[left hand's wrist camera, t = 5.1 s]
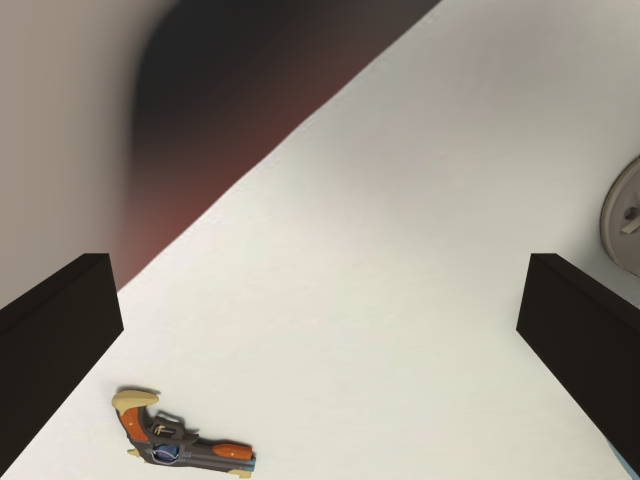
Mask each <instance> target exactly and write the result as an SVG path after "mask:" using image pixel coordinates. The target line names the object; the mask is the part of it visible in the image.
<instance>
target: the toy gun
mask: <svg viewBox="0 0 640 480" xmlns="http://www.w3.org/2000/svg"><path fill="white" fill-rule="evenodd" d="M158 400H159V398H158V396H156V395H154V394H150V393H146V392H142V391H135V390H126V391H121V392H119V393H117V394H116V395H115V396H114V397H113V398H112V406H113V407H114V408H115V410H116V413H117V416H118V418H119V421H120V423H121V424H122V426H123V427H124V429H125V431H126V433H127V438H128V439H129V441H130V442H131V444H132V445H133V446H134V447H135V449H133V450H128V451H127V452H128V453H129V454H131V455H135V456H136V457H138V458H139V456H141V457H142V458H143V459H144V460H145V462H144V463H150V464H155V465H163V466H171V467H196V468H202V469H208V470H215V471H221V472H226V473H230V474H237V475H240V477H239V478H250V477H251V471H252V472H253V471H254V467H255V461H256V457H254V456H252V448H249V447H244V446H238V445H232V444H219V445H214V446H207V445H201V444H198V443H195V442H196V441H197V440H198V436H199V434H193V435H184V434H183V431H184V427H183V425H182V424H181V423H179V422H173V421H169V420H166V419H164V418H162V417H160V416H157V417H156V418H155V420H154V422H153V423H152V424H151V425H149V424H148V423H147V421H146V418H145V415H144V408H145V406H147V405H151V404H154V403H156V402H157V401H158ZM157 424H159V425H160V426H158V427H157V428H156V430H155V429H154V426H155V425H157ZM165 427H167V428H170V429H175V430H176V431H175V432H174V433H169V432H162V431H160V429H161V428H165ZM158 428H159V431H158V430H157V429H158ZM156 443H160V444H161V445H159V446H157V447H156V446H155V445H154V444H156ZM179 445H180V447H179ZM154 447H155V448H154ZM153 452H155V453H156V454H154V453H153ZM177 455H178V456H177ZM176 456H177V457H176Z"/></svg>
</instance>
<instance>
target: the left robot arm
mask: <svg viewBox="0 0 640 480" xmlns="http://www.w3.org/2000/svg"><path fill="white" fill-rule="evenodd" d="M601 236H602V241H603V244H604V247H605V249H606V251H607V253H608V254H609V256H610V257H611V259H612V260H613V261H614V262H615V263H616V264H617V265H619V266H620V267H621V268H623V269H625V270H627V271H628V272H630V273H632V274H634V275H635V276H638V277H640V157H639V158H638V159H637V160H636V161H634V162H633V163H632V164H631V165H630V166H629V167H628V168H627V169H626V170H625V171H624V172H623V174H622V175H621V176H620V177H619V179H618V180H617V181H616V183H615V184H614V186H613V188H612V189H611V191H610V193H609V195H608V197H607V199H606V202H605V205H604V208H603V212H602V217H601ZM123 330H124V327H123V322H122V317H121V312H120V307H119V302H118V297H117V292H116V287H115V282H114V277H113V272H112V267H111V262H110V257H109V254H108V253H84V254H83V255H81V256H80V257H78V258H77V259H75V260H74V261H72V262H71V263H69V264H68V265H66V266H65V267H63V268H62V269H60V270H59V271H57V272H56V273H54V274H53V275H51V276H50V277H48V278H47V279H45V280H44V281H42V282H41V283H39V284H38V285H37V286H35V287H34V288H32V289H31V290H29V291H28V292H26V293H25V294H23V295H22V296H20V297H19V298H17V299H16V300H14V301H13V302H11V303H10V304H8V305H7V306H5V307H4V308H2V309H1V310H0V478H1V477H2V475H3V474H4V473H5V472H6V471H7V469H8V468H9V467H10V466H11V465H12V463H13V462H14V461H15V460H16V459H17V457H18V456H19V455H20V454H21V453H22V451H23V450H24V449H25V448H26V447H27V445H28V444H29V443H30V442H31V441H32V439H33V438H34V437H35V436H36V435H37V433H38V432H39V431H40V430H41V429H42V427H43V426H44V425H45V424H46V423H47V421H48V420H49V419H50V418H51V417H52V415H53V414H54V413H55V412H56V411H57V409H58V408H59V407H60V406H61V405H62V403H63V402H64V401H65V400H66V399H67V397H68V396H69V395H70V394H71V393H72V391H73V390H74V389H75V388H76V387H77V385H78V384H79V383H80V382H81V381H82V379H83V378H84V377H85V376H86V375H87V373H88V372H89V371H90V370H91V369H92V367H93V366H94V365H95V364H96V363H97V361H98V360H99V359H100V358H101V357H102V356H103V354H104V353H105V352H106V351H107V350H108V348H109V347H110V346H111V345H112V344H113V342H114V341H115V340H116V339H117V338H118V336H119V335H120V334H121V333H122V332H123ZM516 330H517V332H518V333H519V334H520V335H521V336H522V338H523V339H524V340H525V341H526V342H527V344H528V345H529V346H530V347H531V348H532V350H533V351H534V352H535V353H536V354H537V356H538V357H539V358H540V359H541V360H542V361H543V363H544V364H545V365H546V366H547V367H548V369H549V370H550V371H551V372H552V373H553V375H554V376H555V377H556V378H557V379H558V381H559V382H560V383H561V384H562V385H563V387H564V388H565V389H566V390H567V391H568V393H569V394H570V395H571V396H572V397H573V399H574V400H575V401H576V402H577V403H578V405H579V406H580V407H581V408H582V409H583V411H584V412H585V413H586V414H587V415H588V417H589V418H590V419H591V420H592V421H593V423H594V424H595V425H596V426H597V427H598V429H599V430H600V431H601V432H602V433H603V435H604V436H605V438H606V440H607V442H608V444H609V446H610V447H611V449H612V451H613V452H614V454H615V456H616V457H617V459H618V460H619V462H620V463H621V464H622V466H623V467H624V469H625V470H626V471H627V473H628V474H629V475H630V476H631V478H632V479H633V480H640V310H639V309H638V308H636V307H635V306H633V305H632V304H630V303H629V302H627V301H626V300H624V299H623V298H621V297H620V296H618V295H617V294H615V293H614V292H612V291H611V290H609V289H608V288H607V287H605V286H604V285H602V284H601V283H599V282H598V281H596V280H595V279H593V278H592V277H590V276H589V275H587V274H586V273H584V272H583V271H581V270H580V269H578V268H577V267H575V266H574V265H572V264H571V263H569V262H568V261H566V260H565V259H563V258H562V257H560V256H559V255H557V254H556V253H531V257H530V262H529V267H528V272H527V277H526V282H525V287H524V292H523V297H522V302H521V307H520V312H519V317H518V322H517V327H516Z"/></svg>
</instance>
